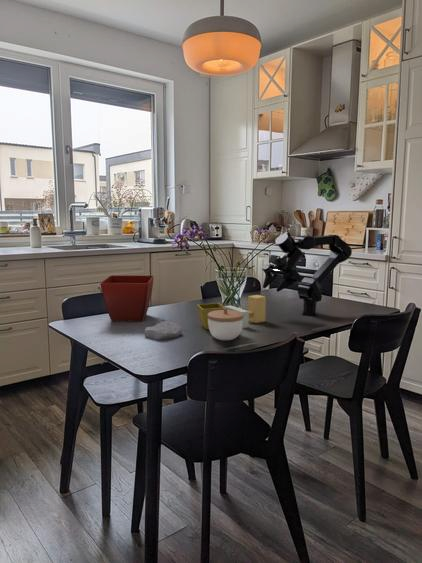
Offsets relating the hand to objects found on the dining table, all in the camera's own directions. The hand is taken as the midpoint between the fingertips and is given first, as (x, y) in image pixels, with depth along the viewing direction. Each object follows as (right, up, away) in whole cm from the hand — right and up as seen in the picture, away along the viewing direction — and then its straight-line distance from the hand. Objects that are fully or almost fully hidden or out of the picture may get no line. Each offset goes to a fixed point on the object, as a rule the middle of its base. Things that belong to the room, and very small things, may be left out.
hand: (270, 289), depth 179 cm
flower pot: (-24, -15, -9) cm, 30 cm away
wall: (-14, -14, -6) cm, 21 cm away
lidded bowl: (-19, -17, -22) cm, 34 cm away
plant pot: (-58, -12, +7) cm, 60 cm away
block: (-7, -13, -2) cm, 15 cm away
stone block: (-41, -17, -18) cm, 48 cm away
